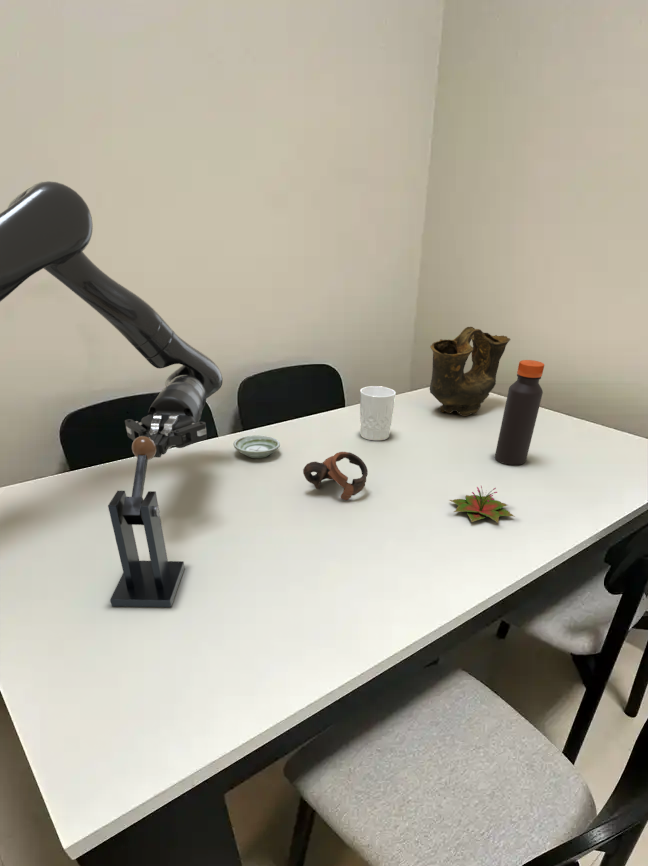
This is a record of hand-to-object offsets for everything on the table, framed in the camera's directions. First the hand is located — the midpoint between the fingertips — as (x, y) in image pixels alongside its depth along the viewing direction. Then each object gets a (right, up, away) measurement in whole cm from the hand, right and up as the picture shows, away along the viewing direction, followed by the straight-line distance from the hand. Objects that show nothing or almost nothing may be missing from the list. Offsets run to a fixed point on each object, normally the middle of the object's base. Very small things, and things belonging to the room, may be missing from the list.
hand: (153, 451), depth 84 cm
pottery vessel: (+58, +31, +69) cm, 95 cm away
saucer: (+9, +11, +39) cm, 42 cm away
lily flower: (+53, -5, +23) cm, 58 cm away
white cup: (+34, +19, +51) cm, 64 cm away
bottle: (+64, +11, +43) cm, 78 cm away
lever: (0, -6, -5) cm, 8 cm away
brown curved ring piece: (+25, 0, +27) cm, 37 cm away
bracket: (0, -20, -1) cm, 20 cm away
